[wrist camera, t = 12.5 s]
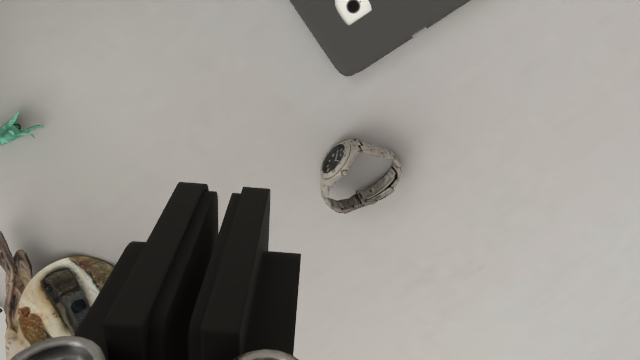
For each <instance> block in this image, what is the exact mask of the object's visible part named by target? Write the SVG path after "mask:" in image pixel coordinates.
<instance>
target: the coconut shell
mask: <svg viewBox="0 0 640 360" xmlns="http://www.w3.org/2000/svg"><path fill="white" fill-rule="evenodd" d="M113 269H114V268H113V267H112V266H110V265H109V264H107V263H105V262H103V261H101V260H98V259H95V258H91V257H84V256H76V257H68V258H64V259H61V260H58V261H56V262H53V263H51V264H50V265H48V266H46V267H45V268H43V269H42V270H40V271H39V272H38V273H37V274H36V275H35V276H34V277H33V278H32V279H31V280H30V282H29V283H28V284H27V286H26V287H25V289H24V291H23V293H22V296H21V298H20V302H19V307H18V319H19V325H20V329H21V331H22V333H23V335H24V337H25V339H26V340H27V341H28V342H29V344H30V345H32V344H35V343H38V342H40V341H43V340H46V339H49V338H55V337H61V336H74V335H75V333H76V332H77V330H78V328H79V326H80V325H81V323H82V321H83V320H84V318H85V316H86V315H87V313H88V311H89V309H90V308H91V306H92V304H93V303H94V301H95V299H96V298H97V296H98V294H99V292H100V291H101V289H102V287H103V286H104V284H105V282H106V281H107V279H108V277H109V276H110V274H111V272H112V270H113Z"/></svg>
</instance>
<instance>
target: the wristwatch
mask: <svg viewBox="0 0 640 360" xmlns="http://www.w3.org/2000/svg"><path fill="white" fill-rule="evenodd" d="M360 152H363V153H367V154H372V155H374V156H377V157H381V156H383V157H384V158H388V159H392V160H393V163H392V167H391V168H390V170H389V172H388V173H387V174H386V175H385V176H384V177H383V178H382V179H381V180H379V181H378V182H376V183H375V184H374V185H372V186H370V187H368V188H366V189H364V190H357V191H356V194H354V195H353V196H352V197H350V198H349V199H343V200H339V201H337V200H334V199H331V198H328V195H329V191H330V188H331V187H332V186H333V184H334V183H335V182H336V181H338V180H339V179H341V178H342V177H343V176H346V175H347V171H348V170H349V168H350V166H351V164H352V163H353V161H354V159H355V158H356V157H357V156H358V155H359V154H360ZM401 171H402V170H401V165H400V161H399V160H398V158H397V156H396V155H395V154H394V153H393V152H392V151H390V150H388V149H385V148H383V147H376V146H374V145H371V144H366V143H364V142H363V141H361V140H358V139H354V140H353V139H348V140H345V141H343V142H340V143H338V144H337V145H335V146H334V147H333V148H332V149H331V150H330V151H329V152H328V154H327V155H326V157H325V158H324V160H323V163H322V166H321V172H320V173H321V194H322V197H323V199H324V201H325V202H326V204H327V205H328V206H329V207H330V208H331V209H333V210H334V211H336V212H339V213H344V214H345V213H348V212H350V211H353V210H355V209H358V208H361V207H364V206H367V205H370V204H374V203H376V202H377V201H378V200H381V199H383V198H385V197H386V196H388V195H389V194H391V193H392V192H393V191H394V187H395V186H396V185H397V183H398V181H399V178H400V175H401Z"/></svg>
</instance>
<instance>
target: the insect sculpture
mask: <svg viewBox="0 0 640 360" xmlns="http://www.w3.org/2000/svg"><path fill="white" fill-rule="evenodd" d="M18 113H19V111H17V113H16V115H15V116H14V118H13V119H12V120H11V121H9V122H8V123H7V124H5V125H3V126H2V127H0V145H3V144H6V143H8V142H10V141H13V140H15V139H16V138H18V137H21V136H23V135H27V134H28V135H31V136H33V134H31V133H28V132H29V131H31V130H34V129H36V128H39V127H42V126H39V125H36V126H33V127H30V128H27V129H25V130H23V131H22V130H20V129H21V125H19V124H14V123H15V121H16V120H17V118H18ZM33 137H34V136H33ZM34 138H35V137H34ZM0 312H2V309H0Z"/></svg>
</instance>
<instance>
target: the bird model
mask: <svg viewBox="0 0 640 360" xmlns="http://www.w3.org/2000/svg"><path fill="white" fill-rule="evenodd" d="M0 265H1V266H2V268H3V269H4V270H5V272H6V293H7V297H6V300H5V306H4V311H5V314H6V324H7V329H6V335H5V338H6V339H5V342H6V343H5V349H6V357H7V360H10V359H11V358H12V357H13V356H15V355H16V354H17V353H19V352H20V351H22V350H24V349H25V348H27V347H29V346H30V344H29V342H28V341H27V340H26V339H25V337H24V335H23V333H22V331H21V329H20V325H19V319H18V307H19V302H20V298H21V296H22V293H23V291H24V289H25V287H26V286H27V284H28V283H29V282H30V280H31V279H32V278H33V277H32V266H31V263H30V261H29V259H28V256H27V254H26V252H25V251H24V250H19V251H17V252H16V253H15V256H14V257H12V254H11V252H10V250H9V247H8V245H7V242H6V240H5V238H4V236H3V234H2V232H1V231H0Z"/></svg>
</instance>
